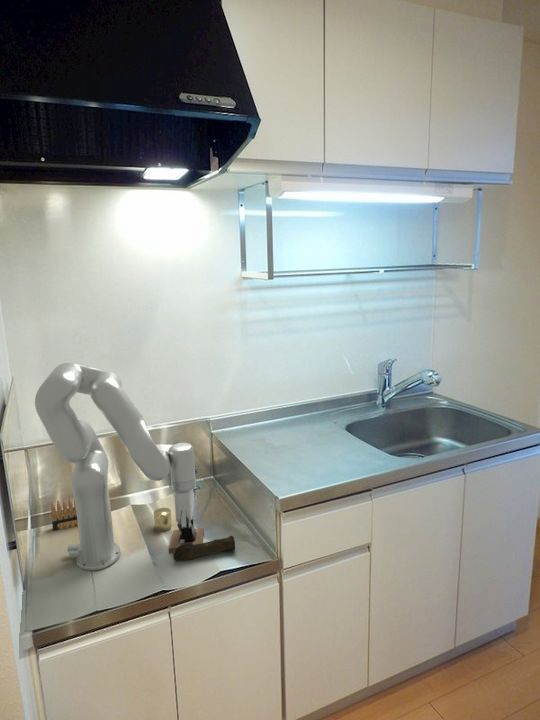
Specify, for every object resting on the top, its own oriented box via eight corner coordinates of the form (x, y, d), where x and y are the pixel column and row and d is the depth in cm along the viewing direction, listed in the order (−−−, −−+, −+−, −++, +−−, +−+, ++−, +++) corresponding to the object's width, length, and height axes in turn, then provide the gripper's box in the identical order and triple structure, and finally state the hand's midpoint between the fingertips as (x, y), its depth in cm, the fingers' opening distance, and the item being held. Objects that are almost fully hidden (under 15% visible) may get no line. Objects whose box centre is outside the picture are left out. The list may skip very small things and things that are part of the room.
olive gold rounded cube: (153, 534, 152) (152, 517, 150) (156, 524, 157) (155, 508, 156) (170, 533, 152) (169, 516, 151) (173, 524, 158) (171, 507, 156)
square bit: (185, 543, 145) (177, 525, 143) (186, 537, 148) (178, 519, 146) (195, 539, 145) (187, 521, 143) (196, 533, 148) (188, 515, 146)
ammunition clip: (87, 525, 158) (83, 493, 155) (87, 528, 156) (83, 496, 154) (53, 532, 154) (49, 500, 151) (53, 535, 152) (48, 503, 150)
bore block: (168, 554, 141) (168, 548, 141) (173, 535, 151) (173, 529, 151) (201, 552, 142) (200, 546, 141) (203, 533, 152) (203, 528, 151)
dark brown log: (233, 544, 145) (232, 531, 144) (236, 551, 141) (235, 538, 140) (173, 556, 140) (172, 542, 139) (174, 564, 136) (173, 550, 135)
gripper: (175, 471, 150) (179, 521, 154) (167, 496, 134) (172, 551, 138) (198, 469, 150) (202, 519, 154) (193, 495, 134) (197, 549, 138)
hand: (188, 534), depth 146 cm, fingers closed on square bit, 3 cm apart
